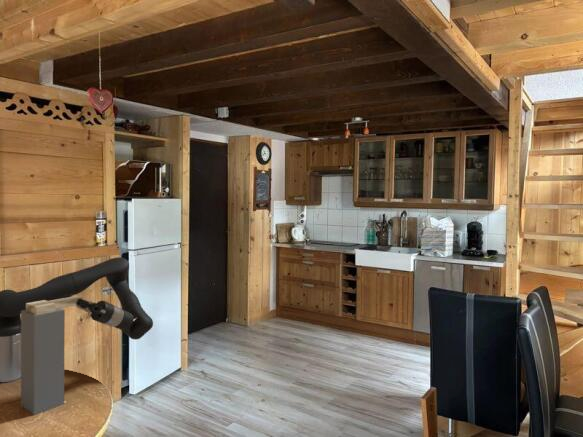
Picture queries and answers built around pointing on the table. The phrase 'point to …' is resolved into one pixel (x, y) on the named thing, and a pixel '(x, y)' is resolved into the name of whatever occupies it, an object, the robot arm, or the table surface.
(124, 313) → the robot arm
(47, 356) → the tall grey pillar
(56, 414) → the table surface
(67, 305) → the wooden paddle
